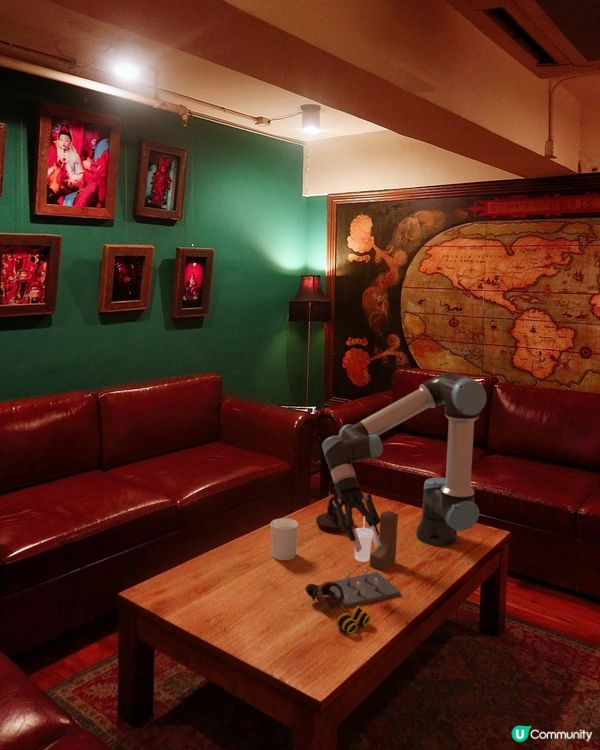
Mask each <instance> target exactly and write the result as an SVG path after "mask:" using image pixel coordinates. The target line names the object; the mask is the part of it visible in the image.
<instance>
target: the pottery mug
mask: <svg viewBox="0 0 600 750" xmlns="http://www.w3.org/2000/svg"><path fill="white" fill-rule="evenodd" d="M331 586H336V587H337V588H338V589H339V591H340V597H339V598H338V599H337V600H336V599H335V600H331V599H329V600H328V602H327V601H326V599H327V598H326V596H327V597H330V598H334V594H335V592H333V591H331V590H330V588H331ZM305 591H306V593H307V595H308V596H309V597H310V598H311V599H312V601H313V602H315V601H316V600H319V601H320V603H321V604H322V607H321V611H322V612H324V613H327V612H328V611H333V610H335V609H337V608H339V607H340V606H341V604H342V602H343V600H344V595H343V590H342V588H341V586H340V585H339V584H337V583H334V582H332V581H325V582H323V583H322V584H319V585H317V584H316V583H315V584H314V583H309V584H307V585H306V586H305Z"/></svg>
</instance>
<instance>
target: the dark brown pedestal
mask: <svg viewBox="0 0 600 750" xmlns="http://www.w3.org/2000/svg"><path fill="white" fill-rule="evenodd" d="M328 491H329V493H328V500H327V503H328V505H327V508H326V511H325V512H324V513H321V514H319V515H317V516H316V517H315V518H316V519H315V523H316V525H317V526H318V527H320V530H321V531H323V530H324V529H325V530H330V531H341V530H340V526H339V522H338V518H337V514H336V510H335V508H334V506H333V505H332V502H333V501H334V500H335V499H339V495H338V493H337V491H336V488H335V484H334V481H333V478H332V476H330V478H329V483H328ZM330 495H332V496H333V497H331V496H330ZM330 497H331V498H330ZM341 506H342V507H344V505H343V504H342V503H341ZM343 514H344V517H345V521H346V513H345V512H343ZM354 523H355V520H354V518H353V517H352V526H354Z"/></svg>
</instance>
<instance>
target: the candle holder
mask: <svg viewBox="0 0 600 750" xmlns="http://www.w3.org/2000/svg"><path fill="white" fill-rule="evenodd" d="M298 531H299V522H298V521H297V520H295V519H293V518H288V517H287V518H286V517H284V518H282V517H281V518H276V519H272V521H271V522H270V541H271V542H270V543H271V556H272V558H273V557H274V558H273V559H275V558H276V559H275V560H277V559H278V560H277V561H281V560H288V561H291V560H294V558H296V556H297V555H296V554H297V544H298ZM290 559H291V560H290Z"/></svg>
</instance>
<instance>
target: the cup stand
mask: <svg viewBox="0 0 600 750" xmlns="http://www.w3.org/2000/svg"><path fill="white" fill-rule="evenodd" d="M368 571H369V569H368V568H363V574H361V575H356V576H351V572H350V571H348V572H346V574H345V575H346V576H345V577H346V578H342V579H336V580H333V581H331V582H334V583H337V584H339V585H340V586H341V588H342V590H343V595H344V600H343V602H342V604H340V606H342V607H343V608H344V609H348V608H352V607H355V606H356V607H357V606H360V605H365V604H368V603H374V602H377V601H382V600H385V599H391V598H394V597H397V596H401V595H402V593H401V591H400V589H398V588H397V587H396V586H395V585H394V584H392V583H391V582H390V581H389V580H387V579H386V578H385V577H384V576H382V575H381V574H380V573H379V572H377V571H374V572H371V573H370V572H369V573H368ZM330 590H331V591H333V592H335V594H334V597H333V598H335V600H337V599H338V598H339V597H340V591H339V589H338V588H337V587H336V586H331V588H330Z"/></svg>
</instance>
